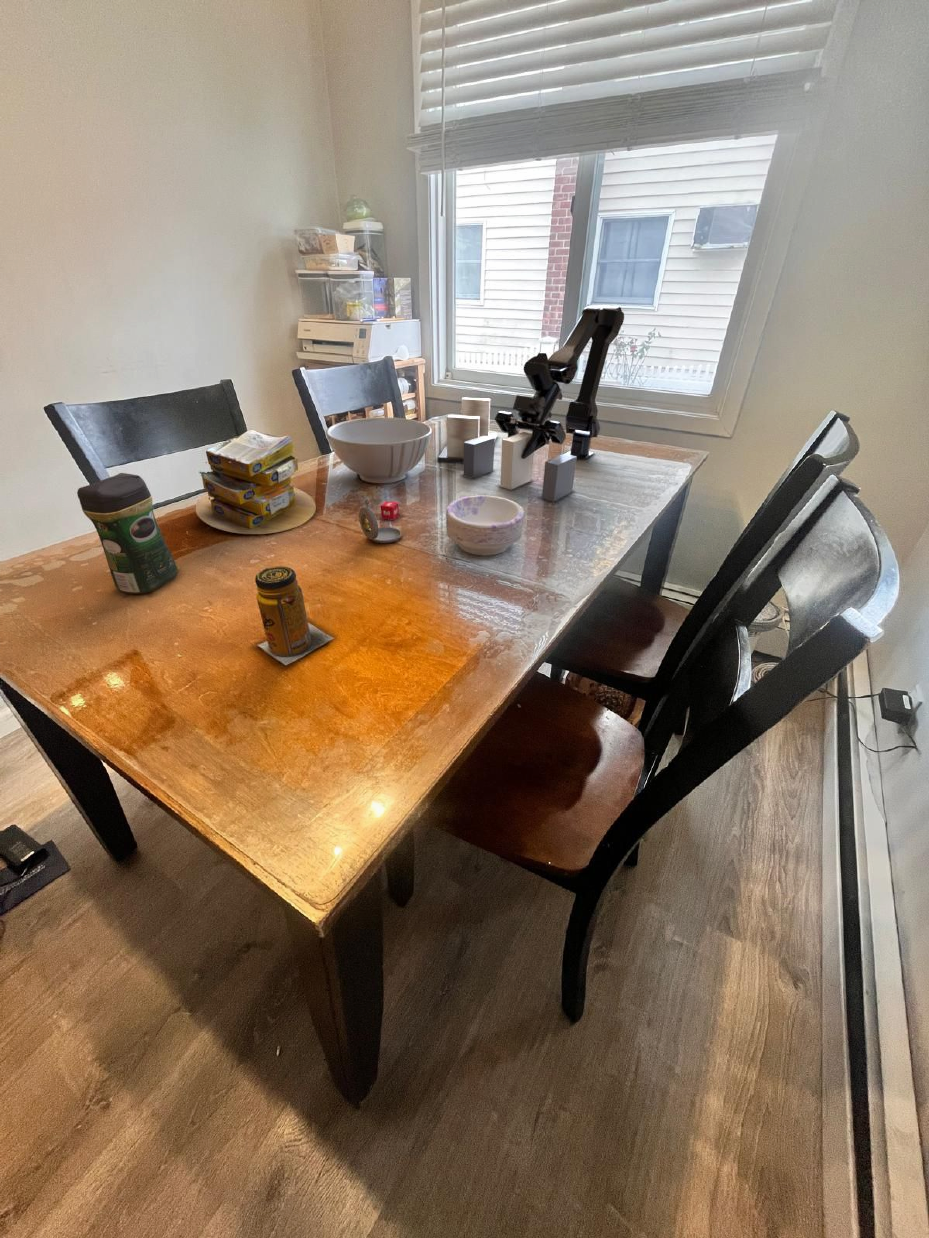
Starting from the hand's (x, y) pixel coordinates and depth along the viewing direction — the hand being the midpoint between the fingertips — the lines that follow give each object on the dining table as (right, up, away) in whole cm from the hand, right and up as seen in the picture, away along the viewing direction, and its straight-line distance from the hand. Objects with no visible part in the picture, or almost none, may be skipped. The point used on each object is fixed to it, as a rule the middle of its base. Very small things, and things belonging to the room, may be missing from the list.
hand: (514, 456), depth 130 cm
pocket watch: (-30, -25, -24) cm, 46 cm away
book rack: (-11, +12, +31) cm, 36 cm away
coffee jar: (-68, -35, -39) cm, 86 cm away
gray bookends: (+1, -6, +5) cm, 8 cm away
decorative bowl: (-35, -3, +9) cm, 36 cm away
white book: (+1, -6, +5) cm, 8 cm away
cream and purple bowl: (-9, -26, -25) cm, 38 cm away
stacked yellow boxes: (-59, -18, -14) cm, 63 cm away
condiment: (-38, -45, -53) cm, 79 cm away
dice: (-29, -18, -14) cm, 37 cm away
